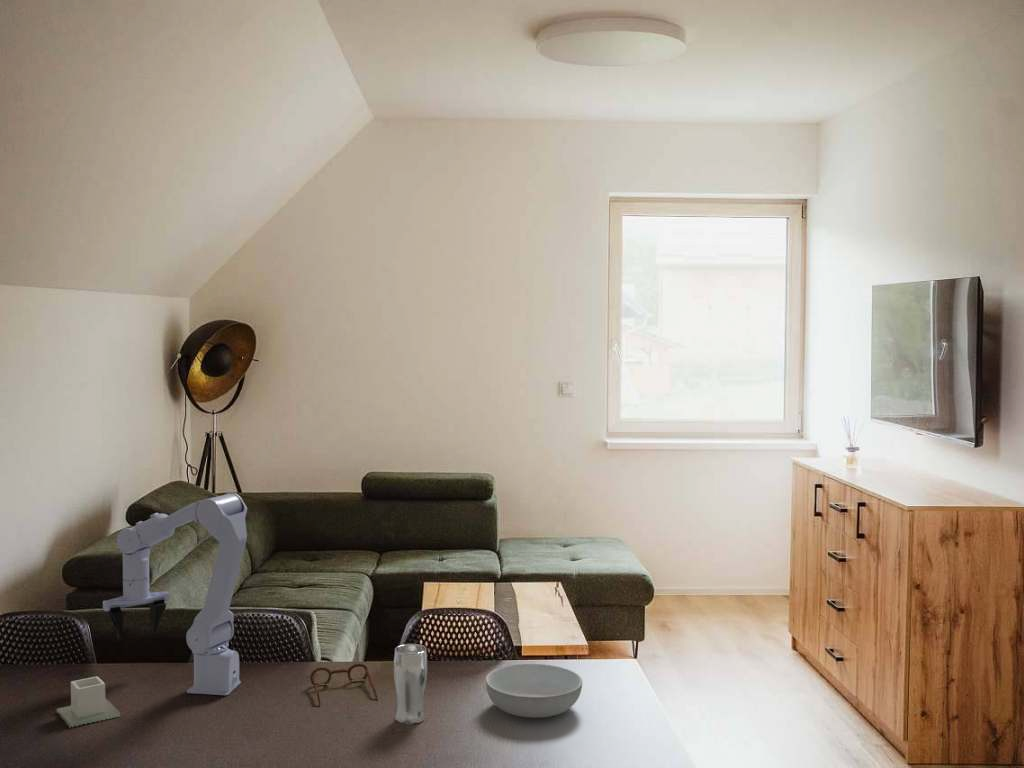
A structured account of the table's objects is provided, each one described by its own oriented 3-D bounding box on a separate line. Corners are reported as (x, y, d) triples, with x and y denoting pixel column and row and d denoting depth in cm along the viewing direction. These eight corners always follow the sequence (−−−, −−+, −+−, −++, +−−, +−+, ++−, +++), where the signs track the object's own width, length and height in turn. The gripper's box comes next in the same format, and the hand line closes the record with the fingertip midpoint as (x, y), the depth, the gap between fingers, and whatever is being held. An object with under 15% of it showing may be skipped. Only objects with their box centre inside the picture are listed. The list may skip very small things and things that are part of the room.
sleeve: (105, 711, 212) (105, 683, 212) (78, 717, 209) (77, 689, 208) (97, 703, 216) (97, 676, 216) (71, 709, 213) (70, 681, 212)
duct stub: (105, 701, 219) (105, 682, 219) (120, 716, 212) (120, 696, 211) (56, 712, 213) (56, 692, 213) (69, 728, 205) (69, 707, 205)
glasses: (367, 682, 234) (367, 661, 234) (378, 702, 222) (378, 680, 222) (310, 688, 230) (310, 667, 230) (318, 709, 218) (318, 687, 217)
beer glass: (421, 727, 208) (421, 655, 207) (389, 723, 209) (389, 652, 208) (430, 714, 215) (431, 644, 214) (399, 711, 216) (399, 642, 215)
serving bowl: (601, 709, 219) (602, 678, 218) (537, 738, 203) (537, 705, 203) (530, 685, 233) (530, 655, 232) (464, 710, 218) (465, 678, 217)
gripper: (161, 570, 241) (162, 626, 242) (98, 579, 232) (99, 637, 233) (172, 576, 236) (172, 633, 237) (107, 585, 227) (108, 645, 228)
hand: (136, 636), depth 235 cm, fingers open, 7 cm apart
